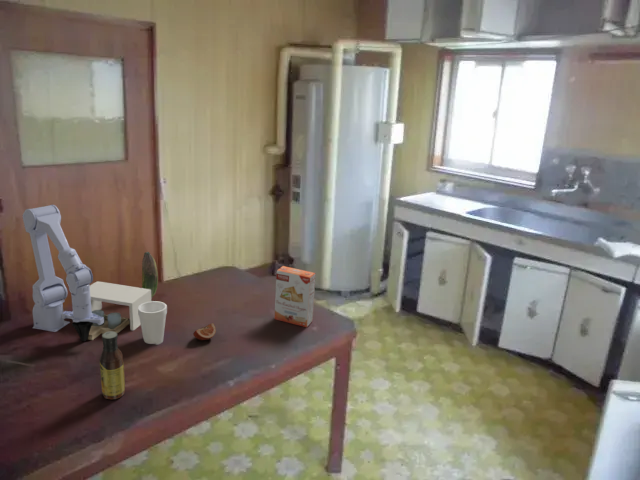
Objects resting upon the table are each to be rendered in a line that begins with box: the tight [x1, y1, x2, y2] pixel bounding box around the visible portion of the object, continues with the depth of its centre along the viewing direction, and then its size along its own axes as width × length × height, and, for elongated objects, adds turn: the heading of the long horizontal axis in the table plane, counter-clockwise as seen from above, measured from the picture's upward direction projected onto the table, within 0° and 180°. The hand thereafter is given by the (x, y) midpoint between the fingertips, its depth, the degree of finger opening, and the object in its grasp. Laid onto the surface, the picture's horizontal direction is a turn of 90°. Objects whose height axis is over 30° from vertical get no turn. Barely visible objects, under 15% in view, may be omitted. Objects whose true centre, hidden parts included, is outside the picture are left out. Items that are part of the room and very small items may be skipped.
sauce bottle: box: [99, 331, 126, 401], centre depth 151 cm, size 6×6×20 cm
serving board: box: [87, 313, 130, 341], centre depth 188 cm, size 14×15×2 cm
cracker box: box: [273, 265, 317, 328], centre depth 203 cm, size 14×6×21 cm, turn 68°
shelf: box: [90, 280, 152, 331], centre depth 196 cm, size 22×13×11 cm, turn 78°
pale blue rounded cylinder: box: [92, 309, 105, 326], centre depth 192 cm, size 4×4×4 cm
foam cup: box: [138, 300, 168, 346], centre depth 183 cm, size 10×9×13 cm
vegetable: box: [141, 251, 159, 299], centre depth 215 cm, size 6×6×20 cm
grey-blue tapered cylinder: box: [107, 312, 122, 329], centre depth 191 cm, size 4×4×4 cm
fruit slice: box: [192, 322, 217, 341], centre depth 187 cm, size 8×7×5 cm
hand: (84, 339), depth 180 cm, fingers closed, pressing on serving board
